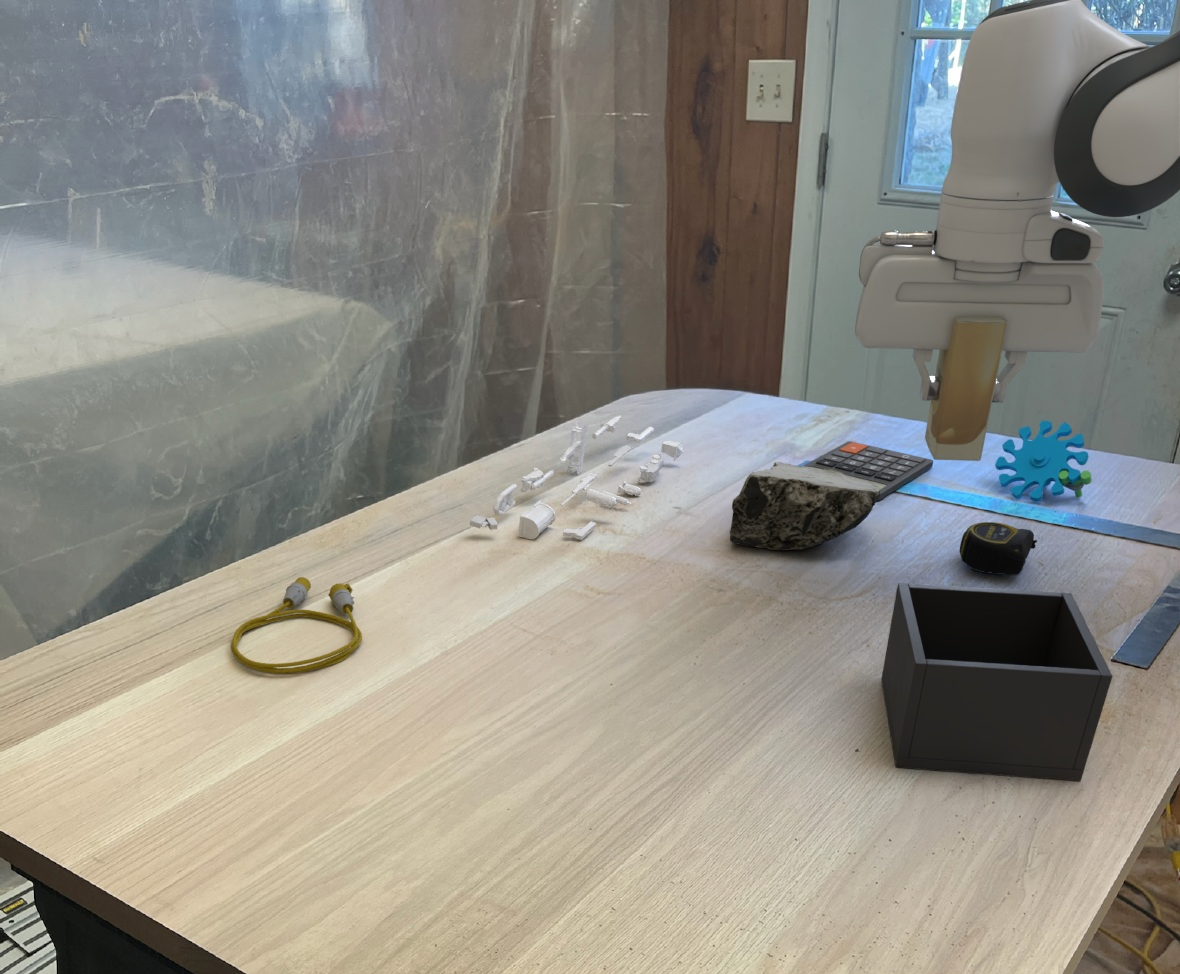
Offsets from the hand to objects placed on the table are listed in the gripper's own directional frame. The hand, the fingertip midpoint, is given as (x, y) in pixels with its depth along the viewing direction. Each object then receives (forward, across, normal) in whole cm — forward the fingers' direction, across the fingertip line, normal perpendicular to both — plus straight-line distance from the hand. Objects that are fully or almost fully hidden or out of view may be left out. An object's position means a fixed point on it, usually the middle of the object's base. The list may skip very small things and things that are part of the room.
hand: (961, 400), depth 104 cm
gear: (+18, +16, +27) cm, 36 cm away
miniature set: (+18, -36, +19) cm, 44 cm away
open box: (+18, 0, -27) cm, 32 cm away
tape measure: (+18, +8, +5) cm, 20 cm away
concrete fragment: (+18, -12, +10) cm, 24 cm away
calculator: (+18, -4, +31) cm, 36 cm away
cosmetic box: (+5, 0, 0) cm, 5 cm away
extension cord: (+17, -58, -19) cm, 63 cm away
